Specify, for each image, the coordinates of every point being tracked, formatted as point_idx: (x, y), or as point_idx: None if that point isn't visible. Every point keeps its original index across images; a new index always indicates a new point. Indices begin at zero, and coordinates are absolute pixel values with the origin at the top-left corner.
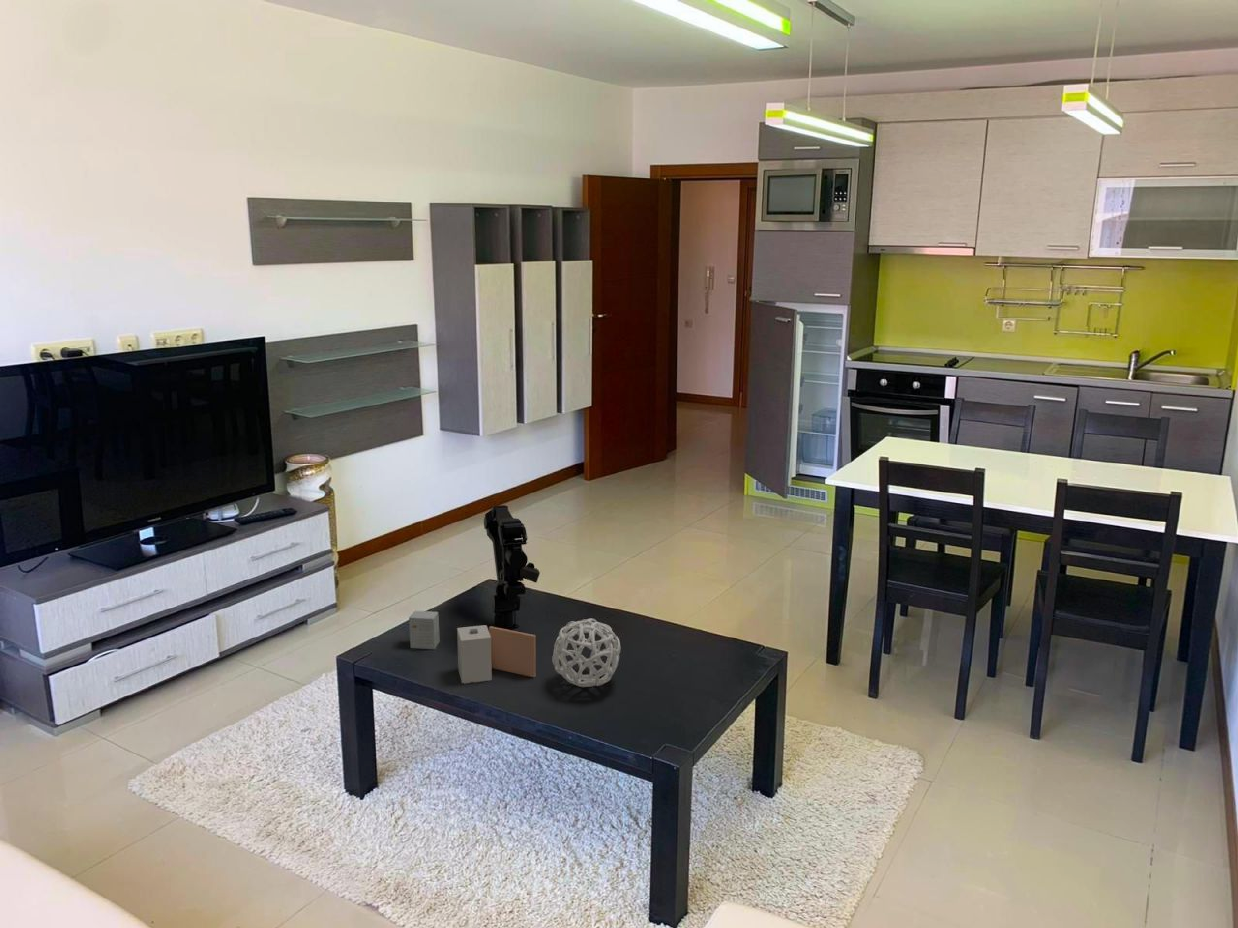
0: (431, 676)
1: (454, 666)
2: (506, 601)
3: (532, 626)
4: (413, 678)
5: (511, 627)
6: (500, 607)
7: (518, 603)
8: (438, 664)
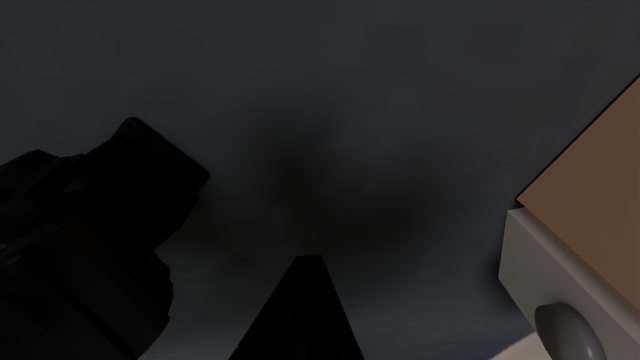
0: (511, 321)
1: (471, 287)
2: (131, 287)
3: (102, 42)
4: (506, 346)
5: (166, 151)
6: (168, 279)
7: (62, 188)
8: (446, 317)
